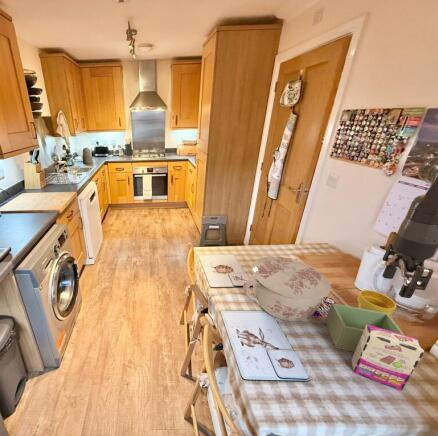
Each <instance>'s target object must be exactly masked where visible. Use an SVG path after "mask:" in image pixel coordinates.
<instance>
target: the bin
mask: <svg viewBox="0 0 438 436" xmlns="http://www.w3.org/2000/svg"><path fill="white" fill-rule="evenodd" d="M324 324H325V326H326V329H327V331H328V333H329V335H330V338H331V340H332V342H333V345H334V347H335V348H336V349H341V350H345V351H349V352H353V353H355V350H356V348H357V345H358V343H359V341H360V338H361V336H362V334H363V331H364V329H365V326H366V324H368V325H371V326H375V327H378V328H382V329H385V330H388V331H392V332H395V333H399V334H402V335H405V333H404V332H403V331H402V329H401V328H400V327H399V325H398V324H397V323H396V322H395V320H394V319H393V318H392V315H389V314H388V313H383V312H378V311H373V310H367V309H362V308H358V307H357V306H351V305H345V304H340V303H334V302H331V304H330V307H329V309H328V312H327V314H326V317H325V321H324Z"/></svg>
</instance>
